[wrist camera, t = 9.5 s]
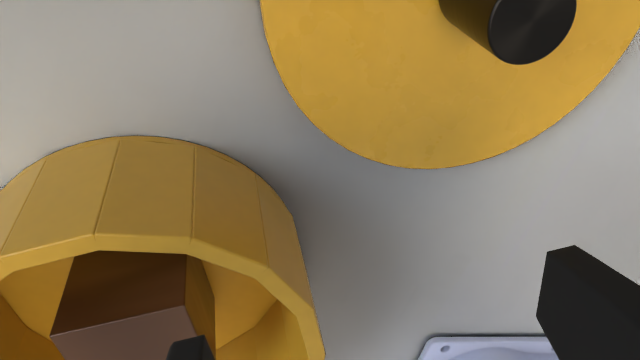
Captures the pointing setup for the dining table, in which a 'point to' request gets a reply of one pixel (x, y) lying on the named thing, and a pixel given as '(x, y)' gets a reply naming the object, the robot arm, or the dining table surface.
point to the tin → (155, 241)
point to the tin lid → (443, 70)
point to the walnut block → (132, 306)
